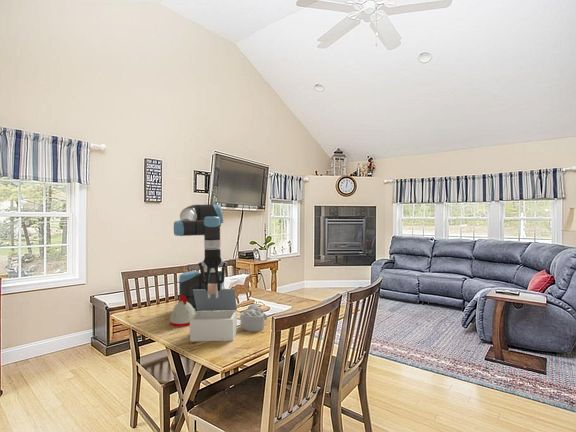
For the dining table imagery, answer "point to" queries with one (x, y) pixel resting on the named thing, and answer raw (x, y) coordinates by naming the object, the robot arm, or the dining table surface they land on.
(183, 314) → the kitchen timer
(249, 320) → the lumpy-topped squat cylinder
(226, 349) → the dining table surface
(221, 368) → the dining table surface
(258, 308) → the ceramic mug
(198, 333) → the carton
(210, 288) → the carton lid
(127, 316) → the dining table surface
